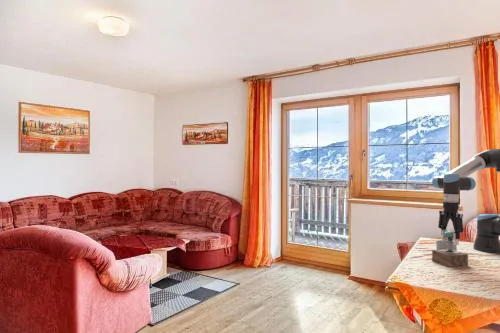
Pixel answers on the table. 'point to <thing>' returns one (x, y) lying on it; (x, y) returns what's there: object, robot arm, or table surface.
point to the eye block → (450, 258)
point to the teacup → (444, 245)
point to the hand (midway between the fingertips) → (450, 243)
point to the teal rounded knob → (449, 240)
